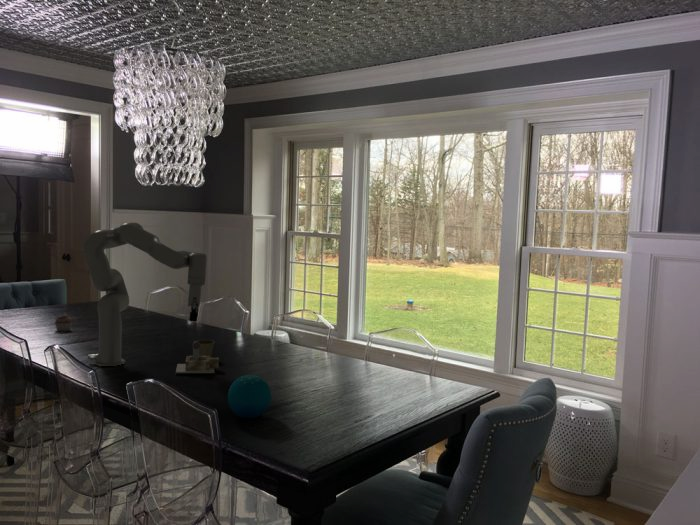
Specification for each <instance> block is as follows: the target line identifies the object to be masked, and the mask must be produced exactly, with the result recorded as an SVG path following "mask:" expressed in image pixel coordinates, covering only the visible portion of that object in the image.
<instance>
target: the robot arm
mask: <svg viewBox="0 0 700 525" xmlns="http://www.w3.org/2000/svg"><path fill="white" fill-rule="evenodd" d="M128 244H129V245H131V246H132V247H135V248H137V249H139V251H143V253H146V254H147V255H149V256H150V257H151V258H153V259H154V260H156V261H157V262H158V263H161V264H162V265H165V266H166V267H168V268H170V269H173V270H180V269H184V268H188V271H187V285H189V286H188V287H189V290H188V300H187V307H190V312H189V322H198V316H199V307H200V303H201V300H202V299H201V298H202V290H203V286H205V285H206V274H207V261H208V259H207V258H208V257H207V254H206V253H202V252H192V251H187V250H177V251H176V250H175V249H173V248H170V247H169V246H167V245H165V244H164V243H162V242H161V240H160V238H159V237H158V236H157V235H155V234H153V233H151V232H149V231H148V230H145V229H144V227H143V226H142V225H141V224H140V223H138V222H125V223H122V224H120V226H117V227H114V228H109V229H98V230H95V231H93V232H92V233H90V234H89V235H88V236H87V237H86V238H85V240H84V243H83V253H84V257H85V260H86V263H87V265H88V269H89V270H88V271H89V272H90V276H91V280H92V284H93V286H94V288H95V289H96V290H97V291H99V292H105V295H103V296H101V297H100V299H99V300H98V302H97V306H96V308H97V313H98V353H96V354H88V356H87V360H91V361H92V360H94V365H95V366H97V365H98V366H97V367H101V366H114V367H118V366H117V365H120V366H122V365H121V364H123V365H125V363H126V359H124V358H122V339H123V336H122V334H123V332H122V331H123V322H122V321H123V320H122V316H121V312H123V311H125V310H127V308H128V307H129V305H130V296H129V293H128V290H127V286H126V282H125V280H124V277H123V275H122V274H121V272H120V271H119V270H117V268H116V269H115V268H111V266H110V262H109V259H108V257H107V254H106V253H105V250H107V249H108V250H109V249H112V248H117V247H121V246H123V245H128Z"/></svg>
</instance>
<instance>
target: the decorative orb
mask: <svg viewBox="0 0 700 525" xmlns="http://www.w3.org/2000/svg"><path fill="white" fill-rule="evenodd" d="M271 401H272V392H271V388H270V386H269V384H268V383H267V381H266V380H265V379H264V378H262V377H260V376H259V375H255V374H245V375H242V376H240V377H238V378H236V379H235V380H234V381H233V382H232V384H231V385H230V387H229V389H228V392H227V402H228V403H227V404H228V406H229V408H230V410H231V412H233V413H234V414H235V415H236V416H238V417H239V418H241V417H242V419H245V418H252V419H255V417H256V418H258V417H260V416H262V415H263V414H264V413H265V412H266V411H267V409H268V408H270V404H271Z"/></svg>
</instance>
